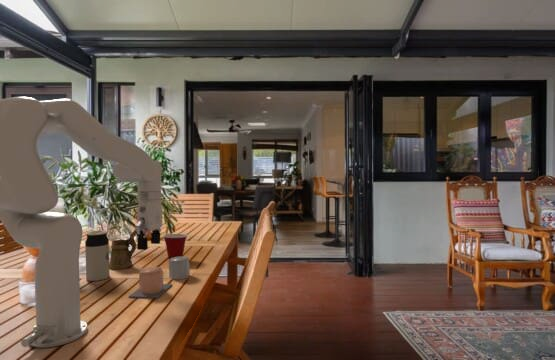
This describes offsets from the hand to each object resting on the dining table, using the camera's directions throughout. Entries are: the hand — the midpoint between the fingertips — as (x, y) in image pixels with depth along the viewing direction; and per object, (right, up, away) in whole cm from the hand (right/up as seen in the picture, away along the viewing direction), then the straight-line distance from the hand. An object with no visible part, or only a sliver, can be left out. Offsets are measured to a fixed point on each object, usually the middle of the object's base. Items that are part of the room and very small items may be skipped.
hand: (149, 246), depth 115 cm
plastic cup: (-3, -14, +40) cm, 42 cm away
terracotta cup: (0, -15, +1) cm, 15 cm away
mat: (0, -16, +1) cm, 16 cm away
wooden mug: (-22, -15, +30) cm, 40 cm away
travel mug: (-26, -16, +15) cm, 34 cm away
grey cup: (+5, -15, +17) cm, 23 cm away
